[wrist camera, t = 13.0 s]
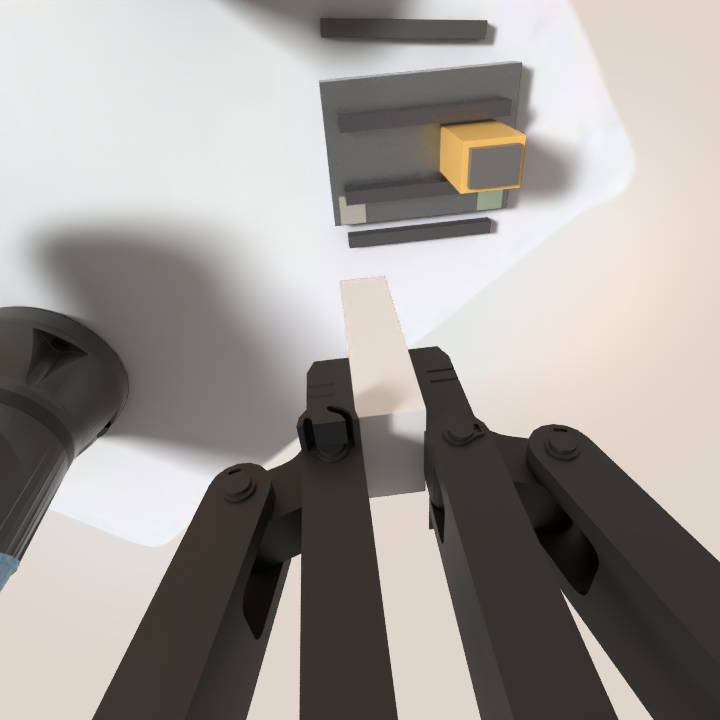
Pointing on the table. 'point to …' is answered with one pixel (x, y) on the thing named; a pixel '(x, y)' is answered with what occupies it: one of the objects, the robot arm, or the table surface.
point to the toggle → (481, 156)
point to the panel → (408, 138)
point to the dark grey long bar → (419, 232)
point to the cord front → (403, 28)
